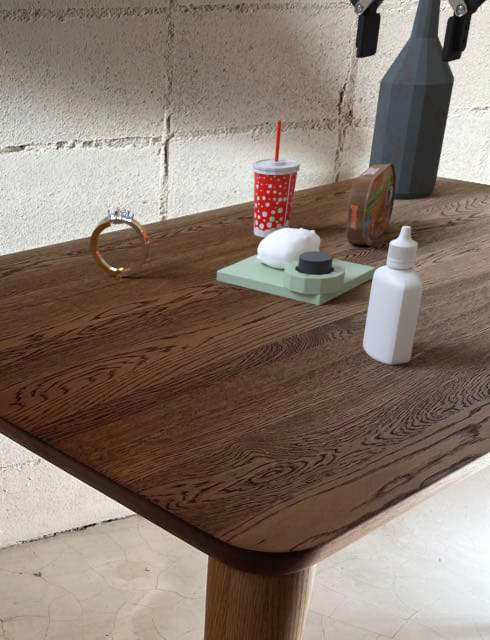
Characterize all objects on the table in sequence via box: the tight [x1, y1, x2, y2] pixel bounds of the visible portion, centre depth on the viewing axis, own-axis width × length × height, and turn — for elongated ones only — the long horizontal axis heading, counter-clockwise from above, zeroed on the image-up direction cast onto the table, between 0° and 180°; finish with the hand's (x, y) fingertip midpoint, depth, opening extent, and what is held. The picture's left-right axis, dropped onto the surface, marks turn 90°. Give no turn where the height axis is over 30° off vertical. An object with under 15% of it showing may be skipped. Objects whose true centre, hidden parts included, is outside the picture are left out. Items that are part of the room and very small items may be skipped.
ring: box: [89, 206, 150, 279], centre depth 104 cm, size 7×3×8 cm, turn 66°
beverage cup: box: [251, 120, 301, 238], centre depth 114 cm, size 6×6×14 cm
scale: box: [216, 253, 377, 306], centre depth 101 cm, size 15×13×3 cm
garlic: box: [256, 227, 322, 269], centre depth 103 cm, size 8×7×4 cm
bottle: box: [368, 0, 455, 200], centre depth 125 cm, size 10×10×30 cm
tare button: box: [298, 251, 334, 275], centre depth 96 cm, size 4×4×2 cm
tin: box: [345, 163, 396, 247], centre depth 113 cm, size 15×3×8 cm, turn 150°
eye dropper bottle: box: [362, 225, 424, 366], centre depth 80 cm, size 4×6×12 cm
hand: (407, 58), depth 93 cm, fingers open, 9 cm apart
